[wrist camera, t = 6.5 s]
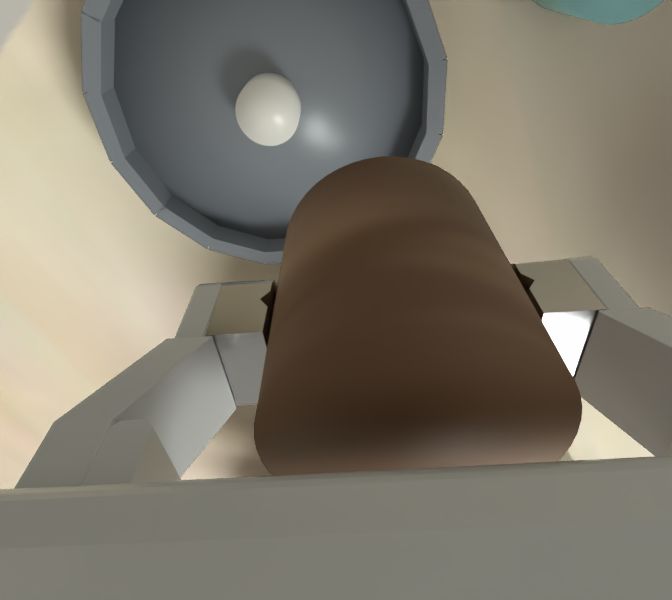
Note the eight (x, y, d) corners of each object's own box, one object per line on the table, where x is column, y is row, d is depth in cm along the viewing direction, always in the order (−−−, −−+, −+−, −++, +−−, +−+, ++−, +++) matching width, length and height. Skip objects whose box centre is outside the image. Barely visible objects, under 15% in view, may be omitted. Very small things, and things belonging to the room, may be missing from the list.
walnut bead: (496, 147, 9) (628, 306, 5) (472, 321, 12) (544, 513, 8) (269, 165, 9) (218, 333, 5) (298, 332, 12) (280, 525, 8)
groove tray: (446, -142, 18) (459, -153, 16) (429, 231, 28) (435, 252, 26) (41, -94, 19) (6, -100, 17) (166, 250, 29) (153, 271, 27)
